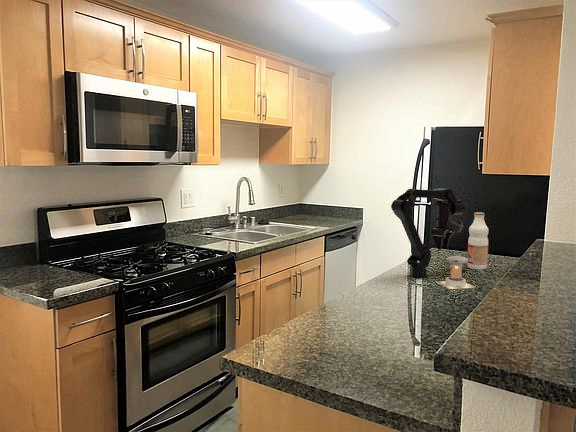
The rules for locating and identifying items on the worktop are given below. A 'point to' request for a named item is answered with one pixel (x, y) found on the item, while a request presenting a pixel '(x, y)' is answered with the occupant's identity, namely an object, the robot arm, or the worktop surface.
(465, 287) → the board
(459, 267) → the copper brown cylinder
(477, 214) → the fruit juice
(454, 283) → the collar
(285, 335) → the worktop surface
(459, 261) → the showerhead
